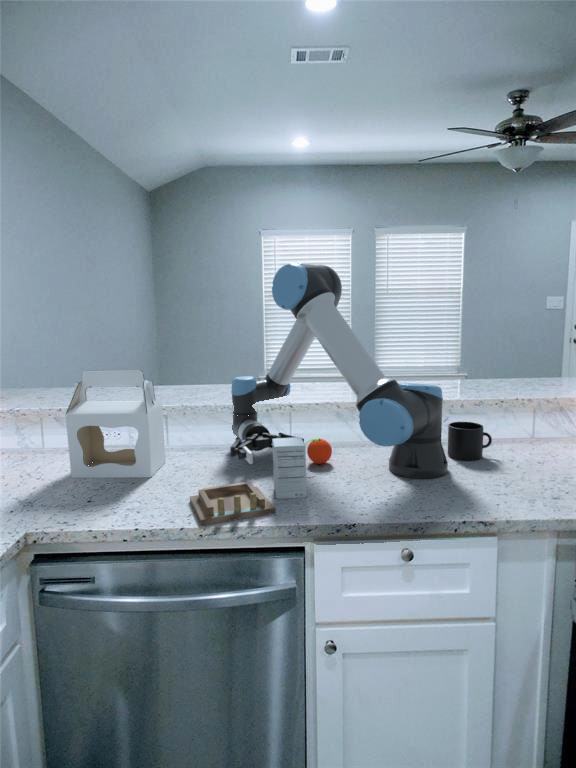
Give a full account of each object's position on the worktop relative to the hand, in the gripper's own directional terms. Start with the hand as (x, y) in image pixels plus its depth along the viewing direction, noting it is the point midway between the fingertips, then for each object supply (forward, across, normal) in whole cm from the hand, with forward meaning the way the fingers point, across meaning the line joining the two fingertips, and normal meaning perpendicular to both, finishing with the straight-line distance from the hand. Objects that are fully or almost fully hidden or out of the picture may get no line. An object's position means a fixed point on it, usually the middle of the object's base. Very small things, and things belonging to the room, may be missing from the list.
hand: (277, 455), depth 127 cm
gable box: (-27, +37, -7) cm, 47 cm away
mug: (+1, -57, -7) cm, 58 cm away
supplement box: (+8, 0, -7) cm, 11 cm away
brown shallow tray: (+11, +15, -7) cm, 20 cm away
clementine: (-10, -15, -7) cm, 20 cm away
